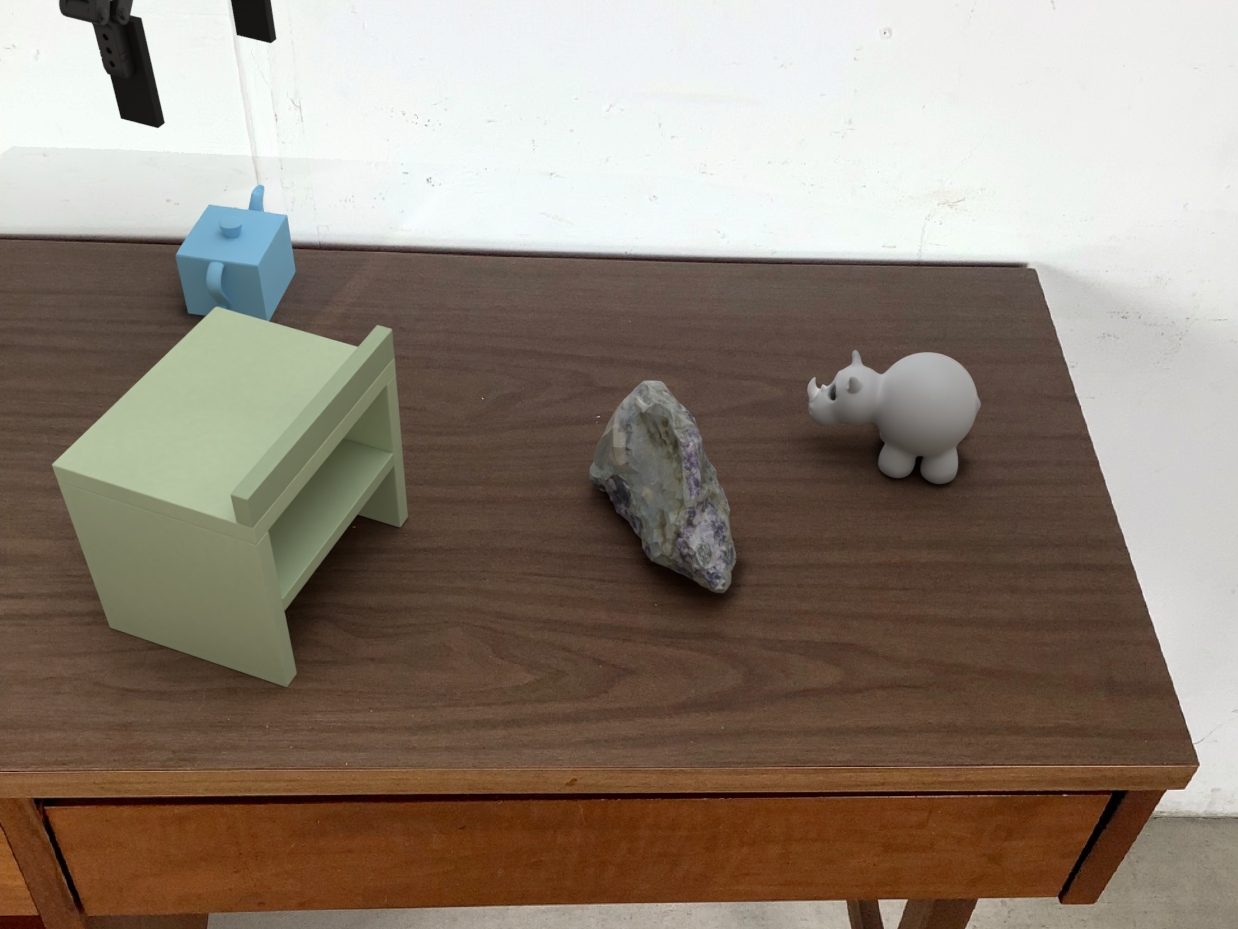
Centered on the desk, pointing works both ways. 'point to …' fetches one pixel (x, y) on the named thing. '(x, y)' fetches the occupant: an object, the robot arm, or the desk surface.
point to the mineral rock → (666, 486)
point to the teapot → (237, 260)
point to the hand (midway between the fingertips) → (202, 77)
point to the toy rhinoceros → (904, 410)
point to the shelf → (234, 484)
